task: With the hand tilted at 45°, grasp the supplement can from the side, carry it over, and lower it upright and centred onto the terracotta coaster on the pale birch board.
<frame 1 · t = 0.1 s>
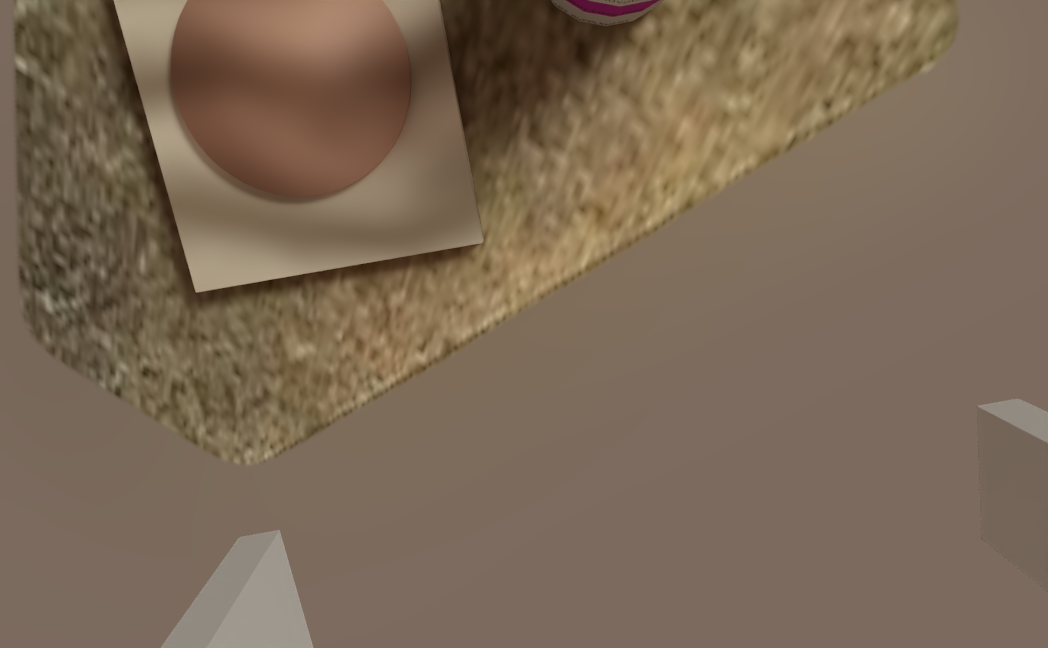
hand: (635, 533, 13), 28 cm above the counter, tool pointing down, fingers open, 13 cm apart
mount board: (302, 81, 38), on the counter
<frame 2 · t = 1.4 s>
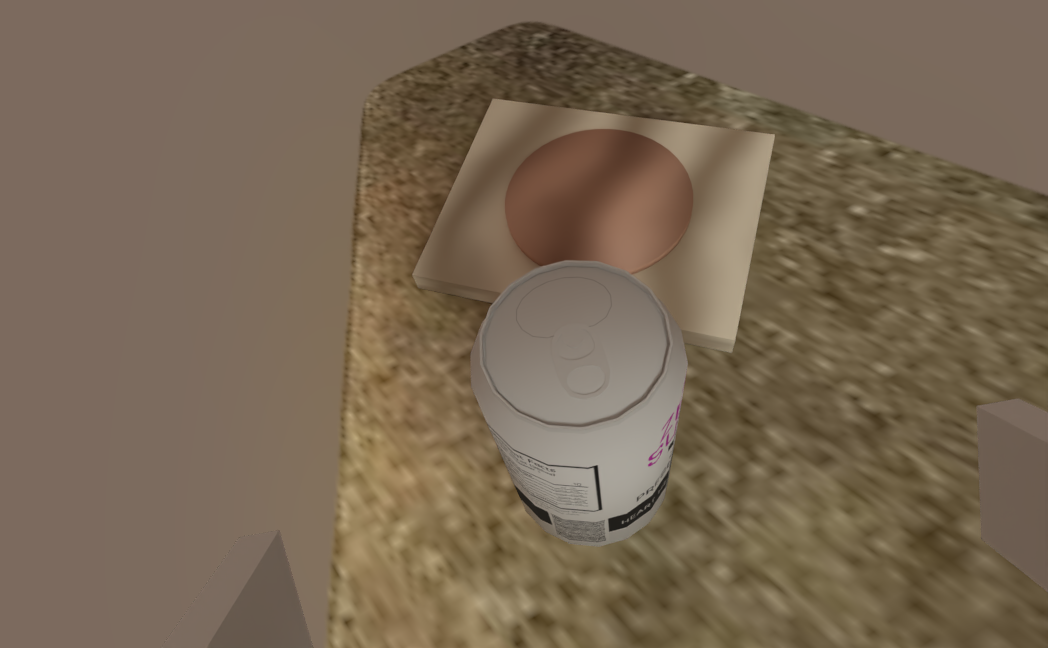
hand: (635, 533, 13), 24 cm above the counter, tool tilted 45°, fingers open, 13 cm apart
supplement can: (591, 473, 38), on the counter
mount board: (598, 217, 47), on the counter
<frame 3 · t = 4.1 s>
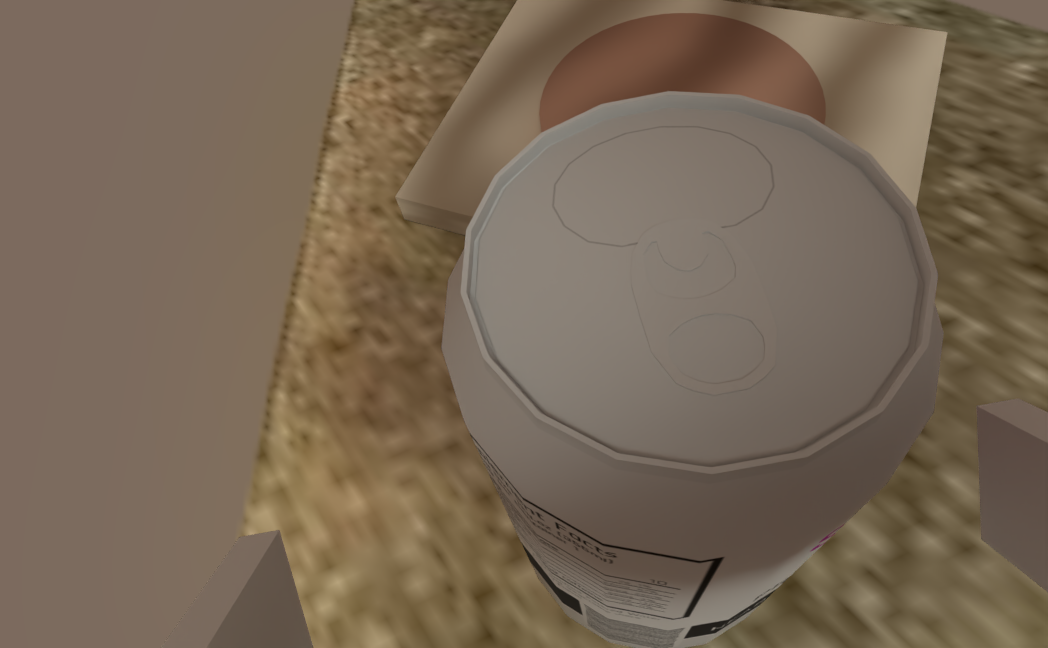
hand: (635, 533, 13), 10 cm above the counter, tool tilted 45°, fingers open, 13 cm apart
supplement can: (647, 520, 24), on the counter
mount board: (674, 138, 32), on the counter
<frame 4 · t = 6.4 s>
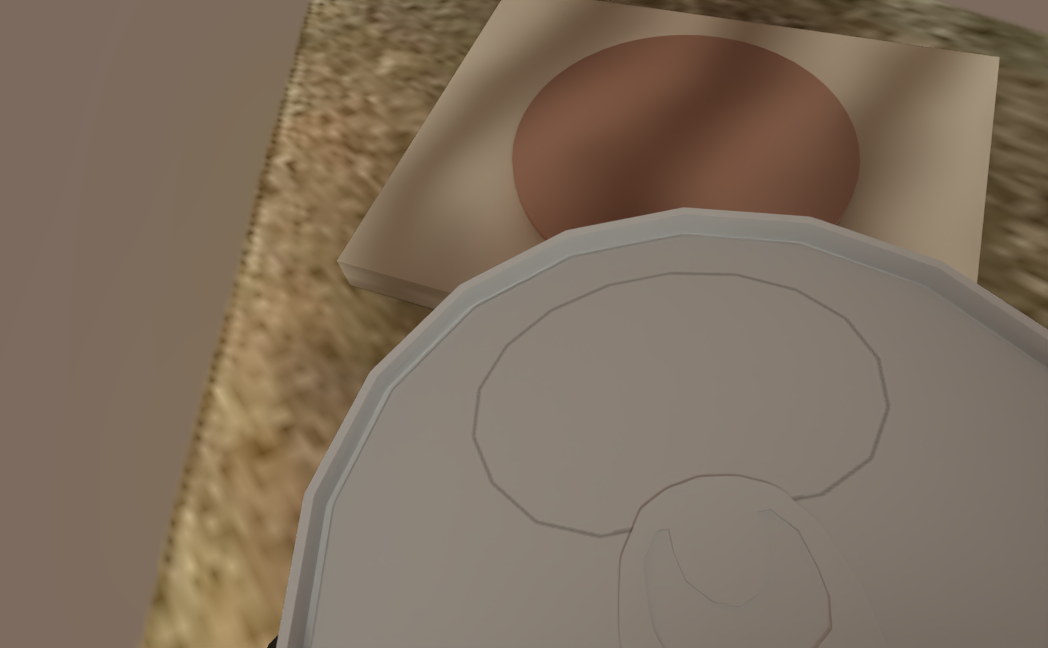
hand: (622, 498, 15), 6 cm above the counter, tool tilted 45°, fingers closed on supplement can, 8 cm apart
mount board: (675, 184, 27), on the counter
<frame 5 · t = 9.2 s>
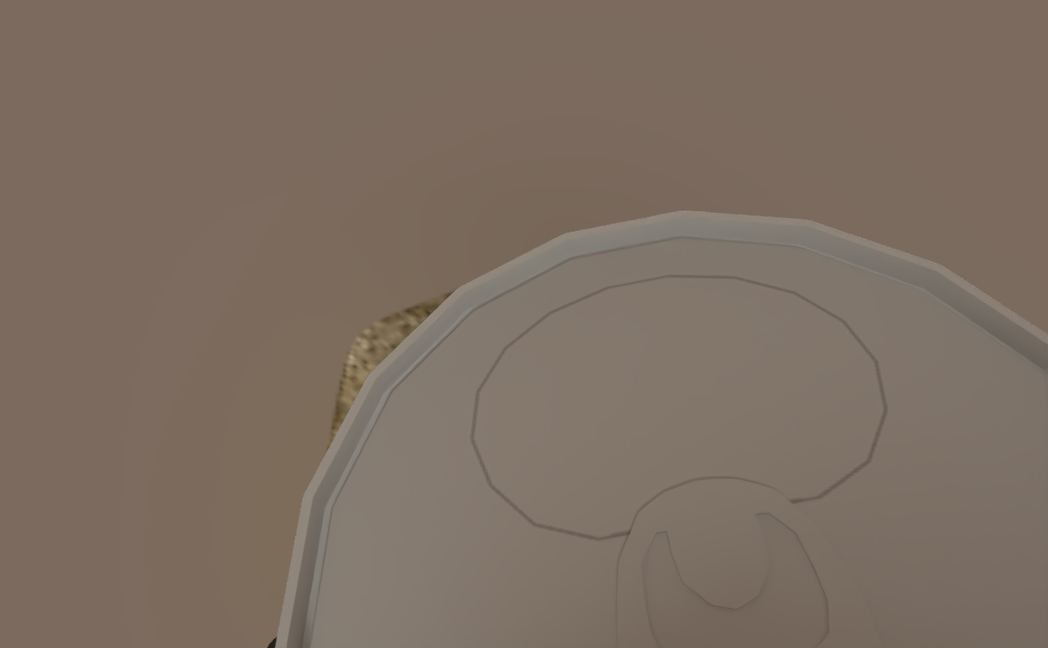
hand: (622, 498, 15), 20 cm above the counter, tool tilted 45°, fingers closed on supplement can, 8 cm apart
when the fingers open (10 cm above the counter, at t = 12.3 s): supplement can drops 2 cm, resting on mount board.
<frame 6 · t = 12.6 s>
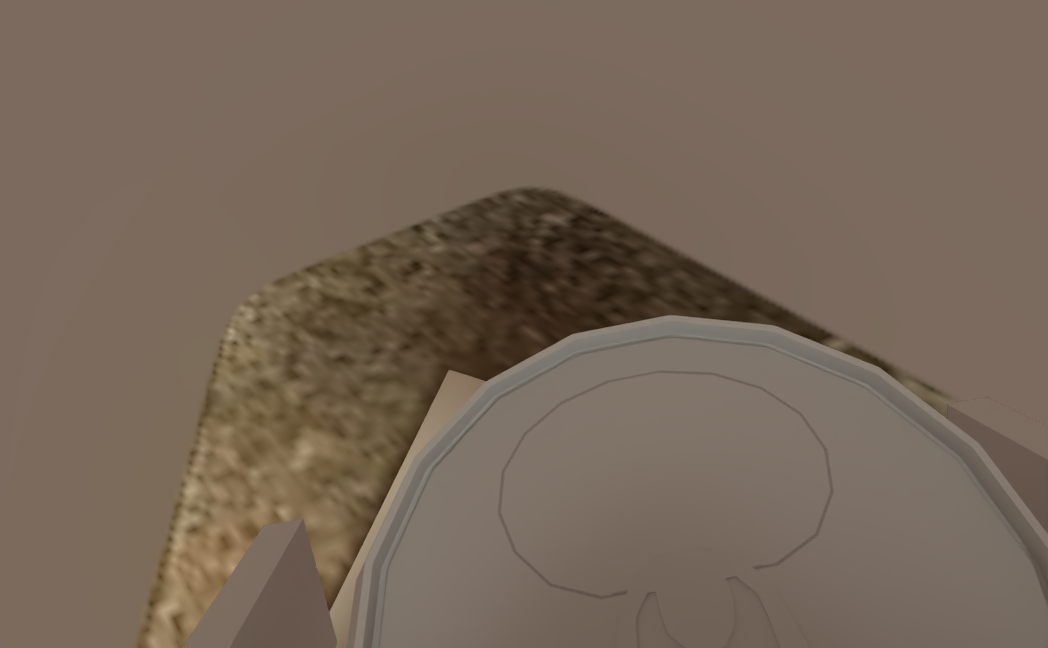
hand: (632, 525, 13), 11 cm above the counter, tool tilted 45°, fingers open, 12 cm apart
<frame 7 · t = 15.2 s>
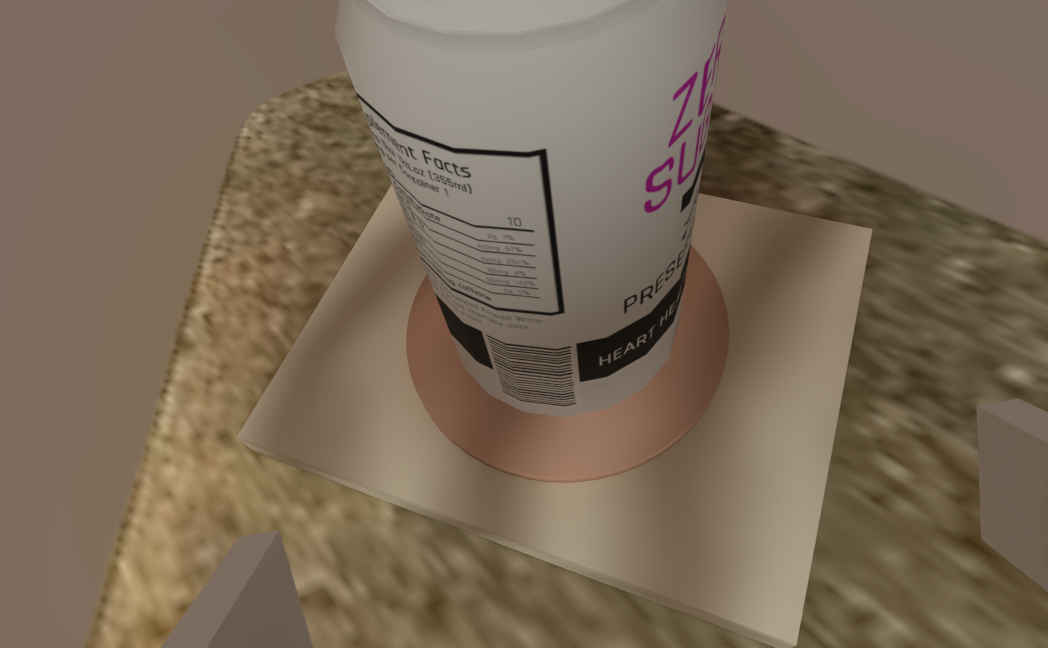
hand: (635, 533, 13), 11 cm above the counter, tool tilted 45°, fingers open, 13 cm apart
supplement can: (565, 326, 26), point 2 cm above the counter, touching mount board
mount board: (566, 349, 28), on the counter
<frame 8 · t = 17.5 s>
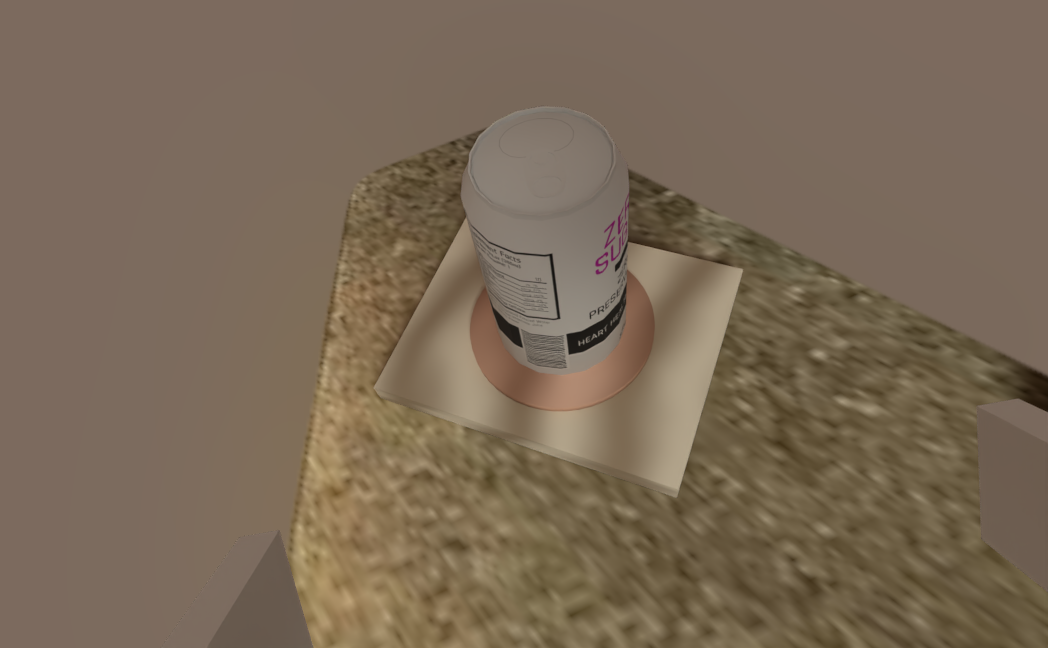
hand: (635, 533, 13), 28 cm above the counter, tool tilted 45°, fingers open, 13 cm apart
supplement can: (561, 325, 46), point 2 cm above the counter, touching mount board
mount board: (563, 338, 47), on the counter
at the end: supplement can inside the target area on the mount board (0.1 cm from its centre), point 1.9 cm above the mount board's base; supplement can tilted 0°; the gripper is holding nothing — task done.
